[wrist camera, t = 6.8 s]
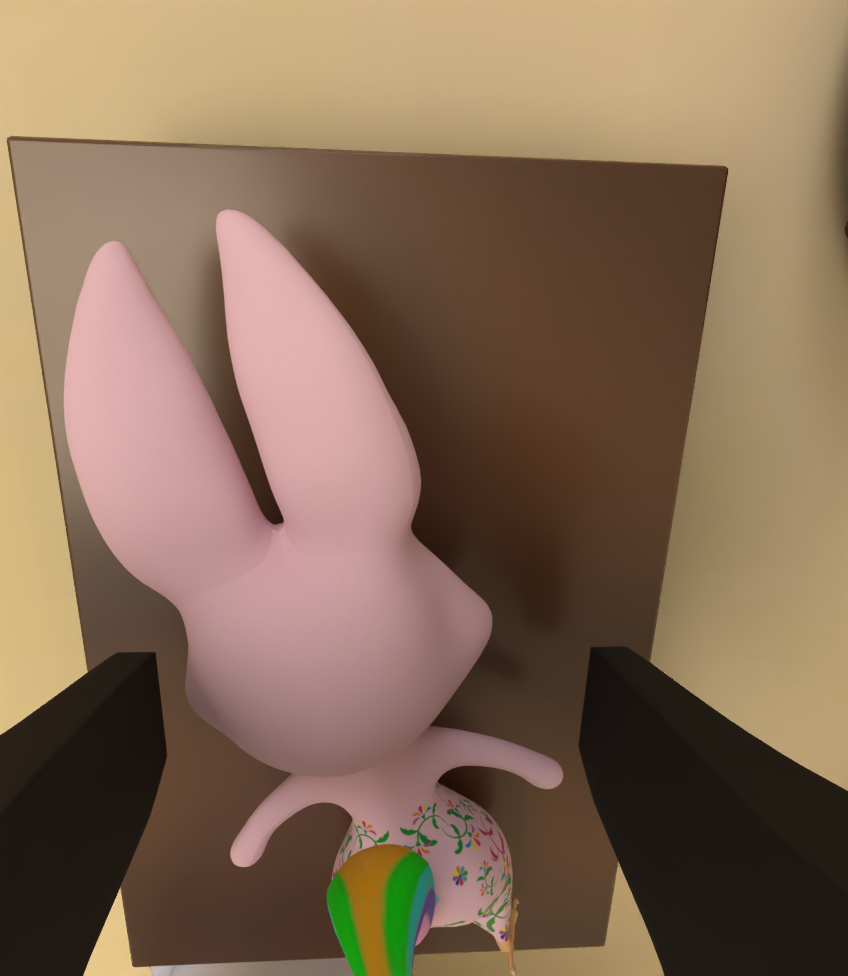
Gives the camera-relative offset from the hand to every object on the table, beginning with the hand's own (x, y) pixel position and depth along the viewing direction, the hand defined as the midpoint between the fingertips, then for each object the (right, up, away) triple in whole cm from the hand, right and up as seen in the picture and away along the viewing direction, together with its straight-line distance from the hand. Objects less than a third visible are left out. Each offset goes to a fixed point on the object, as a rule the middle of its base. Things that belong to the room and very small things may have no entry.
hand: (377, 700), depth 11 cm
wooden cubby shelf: (0, +2, +6) cm, 7 cm away
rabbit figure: (-1, +1, +2) cm, 2 cm away
